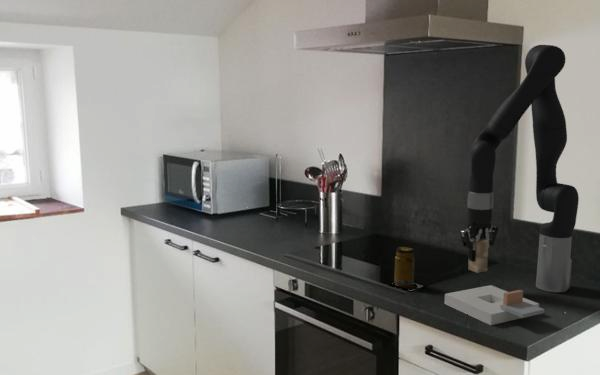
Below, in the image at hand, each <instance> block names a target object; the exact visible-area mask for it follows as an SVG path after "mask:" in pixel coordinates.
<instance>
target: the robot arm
mask: <svg viewBox="0 0 600 375" xmlns="http://www.w3.org/2000/svg"><path fill="white" fill-rule="evenodd" d="M565 64H566V55H565V52H564V51H563V49H561V48H560V47H559V46H557V45H551V44H538V45H534V46H533V47H532V48H530V49H529V50H528V52H527V54H526V56H525V60H524V65H525V71H526V76H525V77H524V79H523V80H522V81H521V83H520V84H519V85H518V87H517V88H516V89H515V90H514V91H513V92H512V93H511V94H510V95H509V96H508V97H507V98H506V99H504V101H503V102H502V103H501V104H500V106H498V108H497V110H496V111H495V112H494V114H493V115H492V116H491V118H490V120H489V121H488V123H487V125H486V126H485V127H484V128H483V130H482V131H481V132H480V133H479V134H478V136H477V137H476V138H475V139H474V140H473V142H472V144H471V145H470V147H469V150H468V151H469V152H468V153H469V157H470V159H471V160H470V162H471V167H470V175H469V179H468V194H467V203H466V204H467V207H466V208H467V209H466V220H467V222H468V224H467V227H466V228H465V229H464V230H463V229H460V231H459V235H460V239H461V243H462V247H463V248H465V249H468V261H469V260H470V261H472V262H475V261H476V244H477V243H478V241H479V239H480V238H484V239H486V240H487V239H488V249H489V248H490V246H493V245H494V244H495V241H496V238H497V234H498V232H499V227H498V226H496V225H492V221H493V218H494V217H493V214H494V194H493V193H494V171H495V168H496V167H495V165H496V156H497V154H496V151H497V149H498V147H499V146H500V144H501V143H502V142H503V140H504V141H505V140H506V139H507V138H508V137H509V136H510V134H511V133H512V132H513V130H514V129H515V127H516V126H517V124H518V123H519V121H520V119H521V118H522V117H523V116H524V114H525V113H526V112H527V110H528V109H529V107H531V117H532V118H531V119H532V132H533V140H534V141H533V142H534V149H535V165H536V170H535V171H536V175H535V176H536V180H535V182H536V183H535V186H536V187H535V191H536V192H535V194H536V196H535V198H536V202H537V204H538V206H539V208H540V209H541V210H542V211H545V212H549V213H553V217H552V220H551V221H550V222H545V223H544V222H543V223H542V224H541V225H540V226H539V227H540V228H539V240H538V250H537V251H538V254H537V265H536V276H535V277H536V279H535V287H536V288H537V289H539V290H541V291H544V292H548V293H565V292H567V291H568V289H570V287H571V286H570V285H571V274H572V273H571V272H572V265H573V264H572V262H573V260H572V258H571V254H572V253H571V251H572V250H571V249H572V242H573V241H572V238H573V232H574V230H575V227H576V223H577V215H578V209H579V203H580V202H579V192H578V190H577V188H576V187H575V186H573V185H570V184H565V183H561V182H560V183H559V182H558V181H557V164H558V162H559V160H560V157H562V154H563V152H564V150H565V148H566V145H567V141H568V133H567V132H568V131H567V123H566V122H567V121H566V117H565V113H564V112H565V111H564V110H563V108H562V104H561V102H560V98H559V97H558V94H557V89H556V77H557V76H558V75H559V74H560V73H561V71H562V70H563V69H564V67H565ZM473 238H474V239H475V240H473ZM472 242H473V246H472Z"/></svg>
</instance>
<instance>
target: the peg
mask: <svg viewBox="0 0 600 375" xmlns="http://www.w3.org/2000/svg"><path fill="white" fill-rule="evenodd" d="M473 240H475V239H474V238H473ZM472 246H473V242H472ZM488 256H489V248H488V239H487V240H486V239H484V238H480V239H479V241H478V243H477V244H476V261H475V262H472V261H470V260H469V259H468V265H467V266H468V268H467V269H468V271H472V272H474V273H477V274H479V273H482V272H487V271H488V261H489V260H488V259H489V257H488Z"/></svg>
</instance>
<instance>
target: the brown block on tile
mask: <svg viewBox="0 0 600 375" xmlns="http://www.w3.org/2000/svg"><path fill="white" fill-rule="evenodd" d="M523 298H524V290H522V289H516V290H512V291H507V292H506V293H504V298H503V305H500V309H502V310H505V311H507V312H510V313H512V314H514V315H517V316H519V317H521V318H520V319H524V318H528V317H532V316H536V315H541V314H545V308H542V307H540V306H539V307H537V306H535V305H532V304H529V303H527V302H524V301H523Z"/></svg>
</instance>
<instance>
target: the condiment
mask: <svg viewBox="0 0 600 375" xmlns="http://www.w3.org/2000/svg"><path fill="white" fill-rule="evenodd" d="M414 253H415V250H414V248H411V247H407V246H400V247H397V248H396V256H395V257H394V277H393V278H394V282H393V283H395V285H396V286H400V287H412V286H413V284H416V285H417V289H412V290H409V289H408V290H407V291H410V292H412V291H416V290H419V289H421V288H422V287H424V285H421V284H418V283H415V281H414V280H415V254H414ZM418 288H419V289H418Z"/></svg>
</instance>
